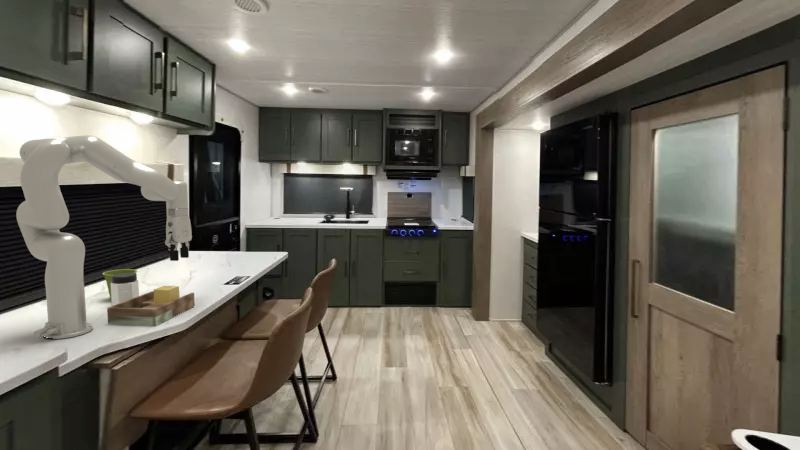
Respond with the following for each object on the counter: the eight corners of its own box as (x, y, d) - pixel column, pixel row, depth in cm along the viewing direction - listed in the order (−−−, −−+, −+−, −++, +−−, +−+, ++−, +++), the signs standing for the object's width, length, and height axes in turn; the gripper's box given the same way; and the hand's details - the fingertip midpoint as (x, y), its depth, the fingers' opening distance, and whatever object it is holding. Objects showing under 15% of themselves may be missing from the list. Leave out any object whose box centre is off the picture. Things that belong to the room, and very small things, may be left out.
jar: (111, 309, 160) (110, 278, 159) (111, 304, 167) (110, 274, 165) (139, 306, 165) (138, 275, 164) (138, 301, 172) (137, 271, 170)
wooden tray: (155, 326, 142) (155, 309, 142) (108, 324, 144) (107, 308, 143) (194, 306, 165) (194, 292, 164) (152, 305, 166) (152, 291, 166)
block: (169, 303, 158) (169, 290, 158) (154, 302, 159) (153, 289, 158) (179, 299, 164) (178, 286, 164) (164, 298, 165) (164, 285, 164)
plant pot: (122, 304, 168) (121, 275, 167) (96, 302, 170) (94, 274, 169) (145, 296, 179) (144, 269, 178) (120, 294, 181) (119, 268, 180)
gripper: (173, 215, 158) (175, 263, 160) (199, 211, 175) (200, 255, 177) (153, 214, 159) (156, 262, 161) (181, 211, 176) (183, 255, 178)
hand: (179, 258), depth 169 cm, fingers open, 5 cm apart
